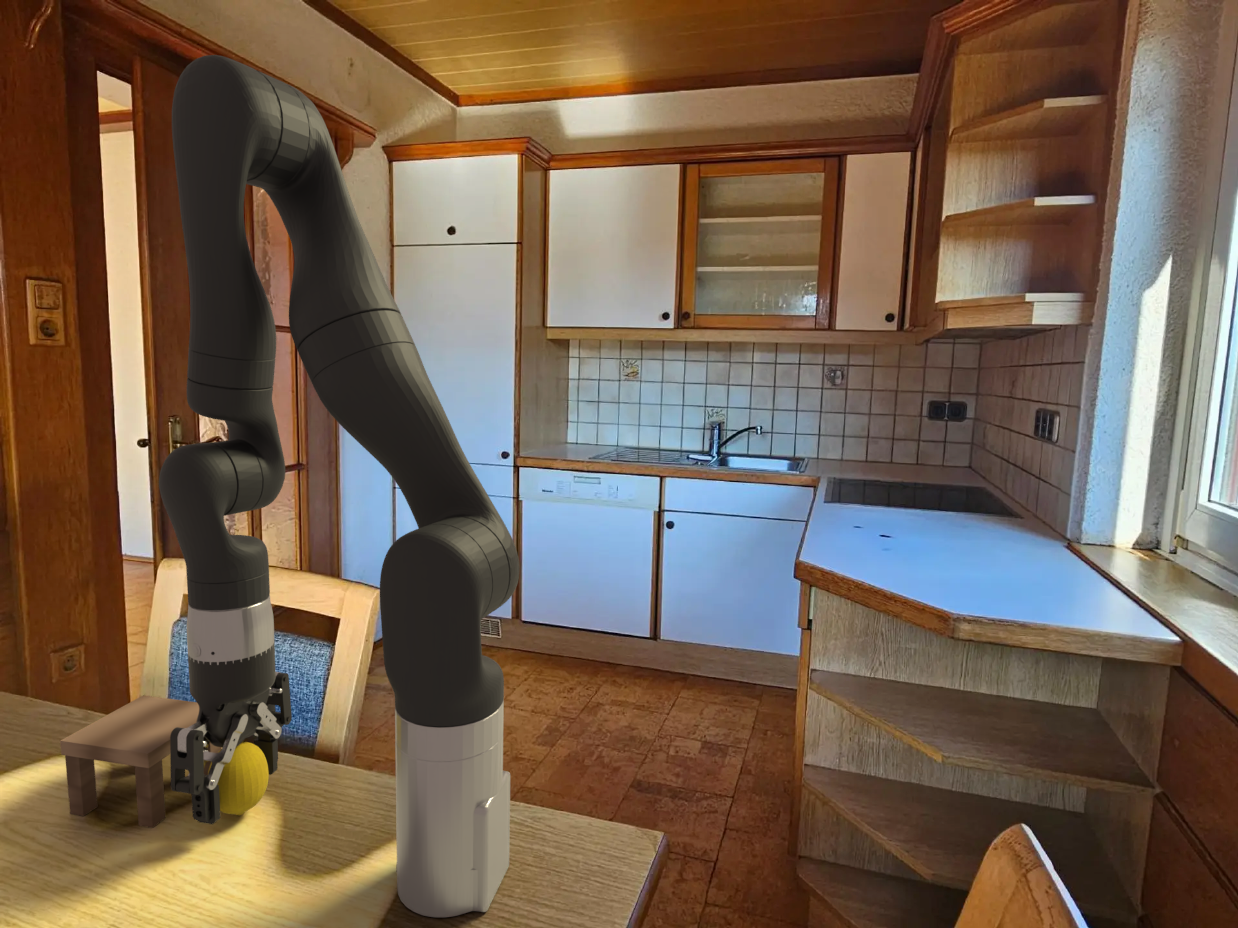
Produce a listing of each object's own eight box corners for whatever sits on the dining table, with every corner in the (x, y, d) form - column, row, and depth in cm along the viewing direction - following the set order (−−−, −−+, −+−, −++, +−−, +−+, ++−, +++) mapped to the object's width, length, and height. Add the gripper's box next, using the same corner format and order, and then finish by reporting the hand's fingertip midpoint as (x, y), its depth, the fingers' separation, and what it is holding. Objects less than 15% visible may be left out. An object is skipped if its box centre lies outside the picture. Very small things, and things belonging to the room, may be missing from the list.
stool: (225, 772, 81) (222, 705, 80) (152, 829, 71) (147, 753, 70) (147, 761, 82) (143, 695, 81) (66, 814, 73) (60, 740, 72)
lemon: (244, 835, 71) (241, 759, 69) (195, 826, 72) (191, 751, 70) (281, 802, 76) (279, 731, 75) (235, 794, 77) (232, 724, 76)
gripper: (212, 678, 63) (221, 846, 66) (310, 621, 77) (314, 762, 80) (138, 668, 65) (149, 834, 67) (247, 614, 79) (253, 753, 81)
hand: (238, 794), depth 73 cm, fingers open, 8 cm apart
